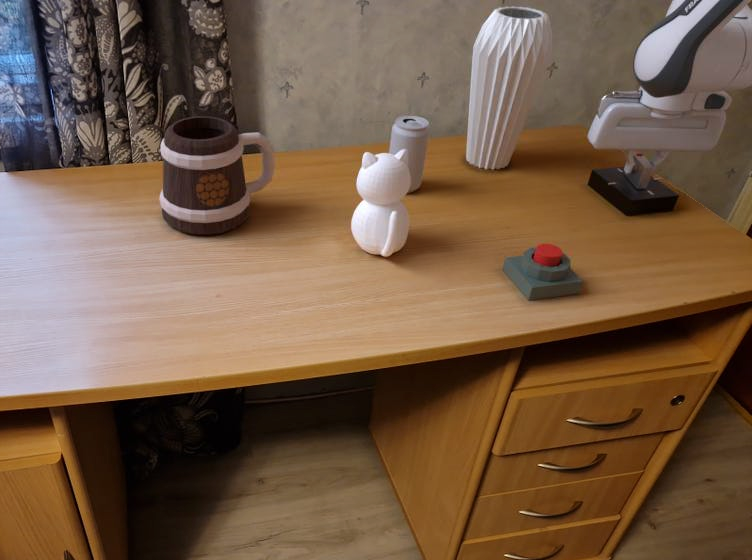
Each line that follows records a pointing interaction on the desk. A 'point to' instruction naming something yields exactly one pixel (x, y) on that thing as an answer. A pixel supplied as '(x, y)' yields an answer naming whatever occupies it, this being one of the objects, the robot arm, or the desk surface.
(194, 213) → the mug
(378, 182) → the cat figurine
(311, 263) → the desk surface
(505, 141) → the vase
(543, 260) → the button
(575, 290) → the button block
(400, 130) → the beverage can
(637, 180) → the tap handle
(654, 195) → the block
